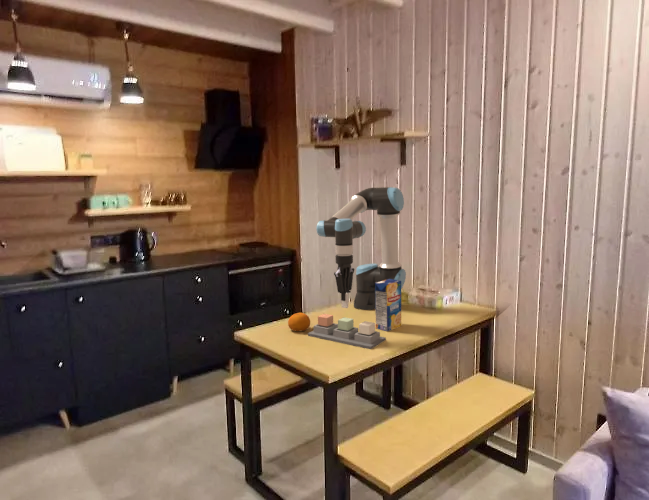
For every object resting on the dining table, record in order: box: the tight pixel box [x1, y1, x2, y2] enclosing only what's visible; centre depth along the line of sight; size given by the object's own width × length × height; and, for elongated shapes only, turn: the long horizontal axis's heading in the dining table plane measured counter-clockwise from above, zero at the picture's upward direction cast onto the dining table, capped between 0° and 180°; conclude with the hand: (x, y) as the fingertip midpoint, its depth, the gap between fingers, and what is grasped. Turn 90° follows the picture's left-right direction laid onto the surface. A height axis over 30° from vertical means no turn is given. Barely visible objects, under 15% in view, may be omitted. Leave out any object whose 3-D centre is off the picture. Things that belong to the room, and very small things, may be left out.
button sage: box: [337, 317, 355, 331], centre depth 217 cm, size 5×5×4 cm
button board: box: [307, 322, 387, 350], centre depth 217 cm, size 13×33×4 cm, turn 54°
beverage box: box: [374, 279, 402, 332], centre depth 229 cm, size 7×11×22 cm, turn 135°
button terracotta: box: [317, 313, 334, 327], centre depth 223 cm, size 5×5×4 cm
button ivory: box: [358, 320, 376, 335], centre depth 210 cm, size 5×5×4 cm
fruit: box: [287, 312, 311, 332], centre depth 230 cm, size 10×10×8 cm
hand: (345, 307), depth 215 cm, fingers closed
